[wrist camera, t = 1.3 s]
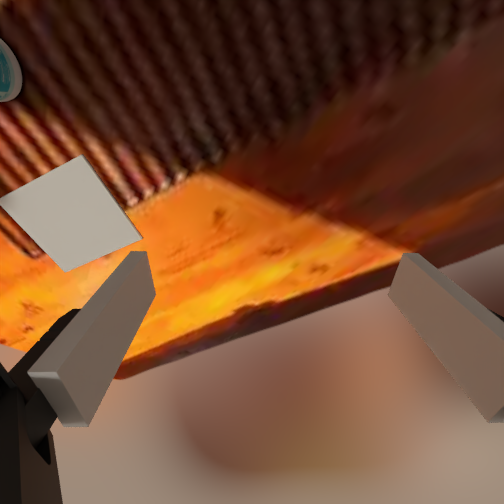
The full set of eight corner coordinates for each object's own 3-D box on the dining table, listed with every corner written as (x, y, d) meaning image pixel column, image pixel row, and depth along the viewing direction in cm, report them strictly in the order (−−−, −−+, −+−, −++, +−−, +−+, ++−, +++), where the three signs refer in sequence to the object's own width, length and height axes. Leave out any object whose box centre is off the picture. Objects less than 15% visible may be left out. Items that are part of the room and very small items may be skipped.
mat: (-2, 199, 37) (-5, 200, 36) (83, 154, 34) (81, 154, 34) (66, 271, 43) (65, 272, 43) (143, 237, 40) (142, 238, 40)
